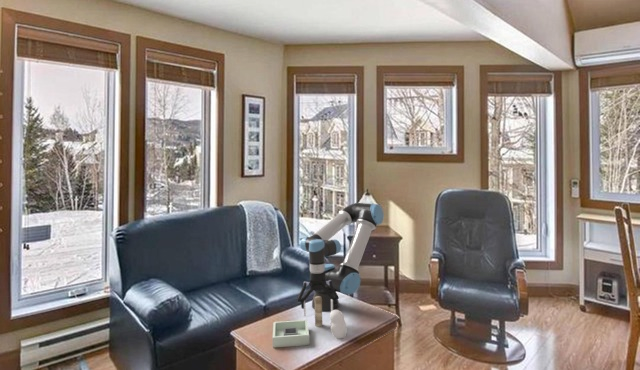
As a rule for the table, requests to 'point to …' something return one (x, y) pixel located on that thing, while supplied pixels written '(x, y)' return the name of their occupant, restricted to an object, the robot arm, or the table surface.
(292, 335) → the green square socket tray
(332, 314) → the figurine
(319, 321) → the beige wooden dowel
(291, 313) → the table surface
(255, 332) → the table surface
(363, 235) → the robot arm
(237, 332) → the table surface
